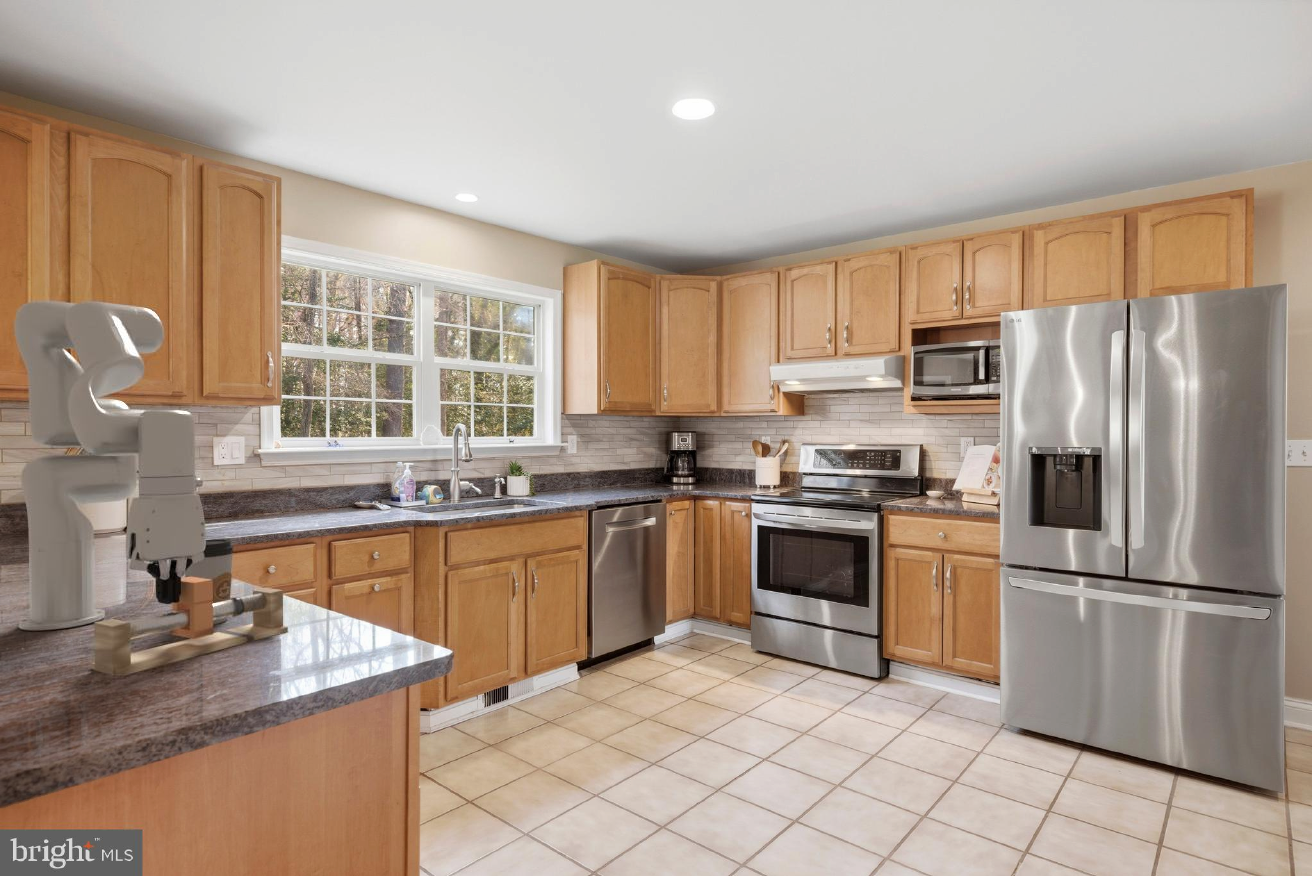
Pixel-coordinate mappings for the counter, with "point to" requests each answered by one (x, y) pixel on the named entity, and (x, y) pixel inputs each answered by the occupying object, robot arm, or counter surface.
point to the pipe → (183, 616)
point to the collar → (196, 607)
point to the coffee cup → (215, 569)
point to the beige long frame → (117, 642)
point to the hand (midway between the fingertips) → (168, 602)
